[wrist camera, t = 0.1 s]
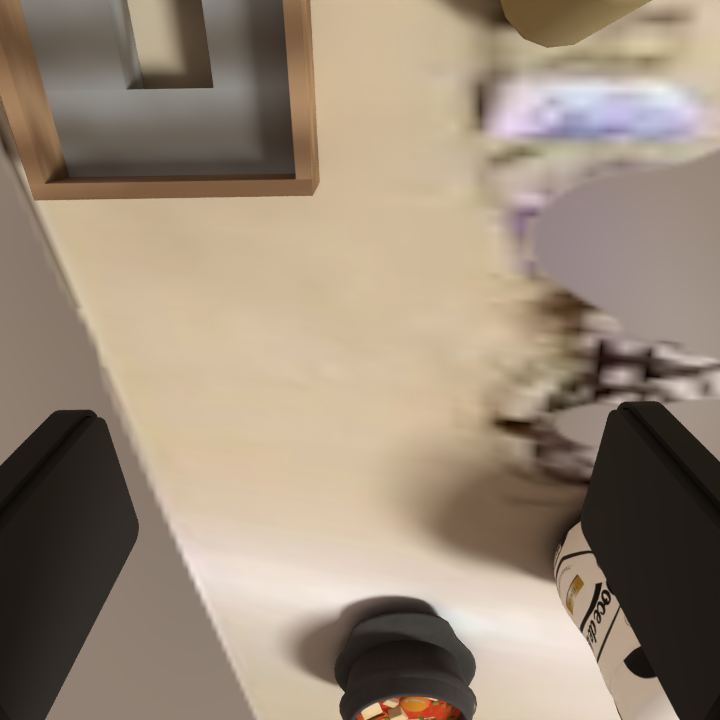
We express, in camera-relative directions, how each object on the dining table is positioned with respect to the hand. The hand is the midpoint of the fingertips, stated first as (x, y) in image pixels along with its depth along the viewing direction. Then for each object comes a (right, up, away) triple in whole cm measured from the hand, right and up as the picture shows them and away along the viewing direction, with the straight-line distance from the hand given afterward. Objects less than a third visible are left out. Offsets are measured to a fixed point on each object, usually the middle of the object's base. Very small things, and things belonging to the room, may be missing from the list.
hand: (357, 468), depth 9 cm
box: (-12, +23, +23) cm, 35 cm away
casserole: (+6, -38, +56) cm, 68 cm away
